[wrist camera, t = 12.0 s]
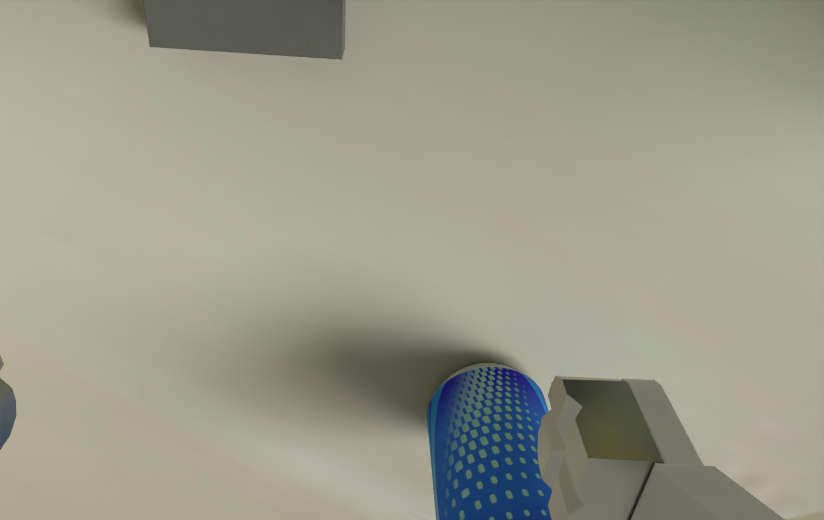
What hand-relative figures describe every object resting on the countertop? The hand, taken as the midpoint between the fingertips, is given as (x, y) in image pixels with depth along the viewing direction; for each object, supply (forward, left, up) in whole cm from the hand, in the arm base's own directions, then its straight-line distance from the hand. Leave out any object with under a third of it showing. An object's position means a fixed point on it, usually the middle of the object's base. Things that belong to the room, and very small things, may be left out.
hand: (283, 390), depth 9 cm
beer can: (-10, +24, -26) cm, 37 cm away
